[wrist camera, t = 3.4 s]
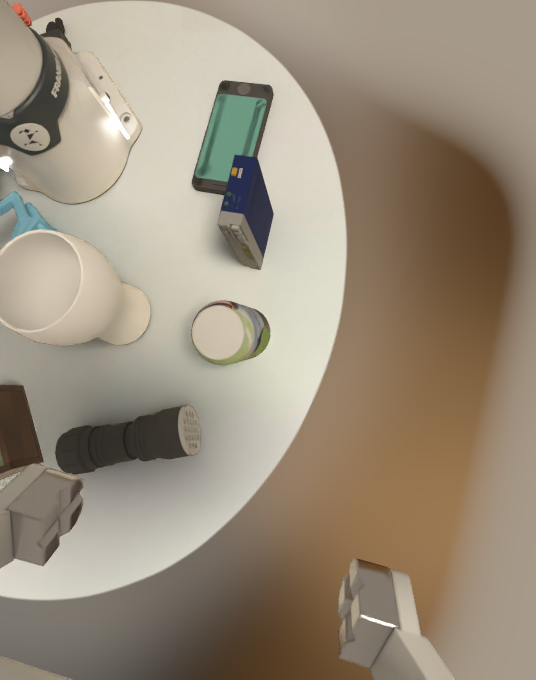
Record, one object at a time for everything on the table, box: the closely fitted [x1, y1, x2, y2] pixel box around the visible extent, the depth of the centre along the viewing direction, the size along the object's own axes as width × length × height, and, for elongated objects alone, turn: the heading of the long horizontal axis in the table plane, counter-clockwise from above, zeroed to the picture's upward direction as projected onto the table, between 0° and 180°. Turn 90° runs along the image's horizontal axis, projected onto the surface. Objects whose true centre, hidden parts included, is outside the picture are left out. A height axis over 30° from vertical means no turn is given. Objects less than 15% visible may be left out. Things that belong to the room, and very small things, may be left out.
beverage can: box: [191, 301, 270, 365], centre depth 40 cm, size 6×7×12 cm
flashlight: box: [55, 405, 201, 474], centre depth 44 cm, size 15×5×5 cm, turn 101°
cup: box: [0, 229, 151, 346], centre depth 41 cm, size 11×11×15 cm
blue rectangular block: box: [217, 155, 274, 270], centre depth 42 cm, size 7×2×12 cm, turn 167°
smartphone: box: [192, 80, 273, 195], centre depth 50 cm, size 7×1×15 cm
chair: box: [0, 192, 59, 241], centre depth 48 cm, size 8×8×12 cm
